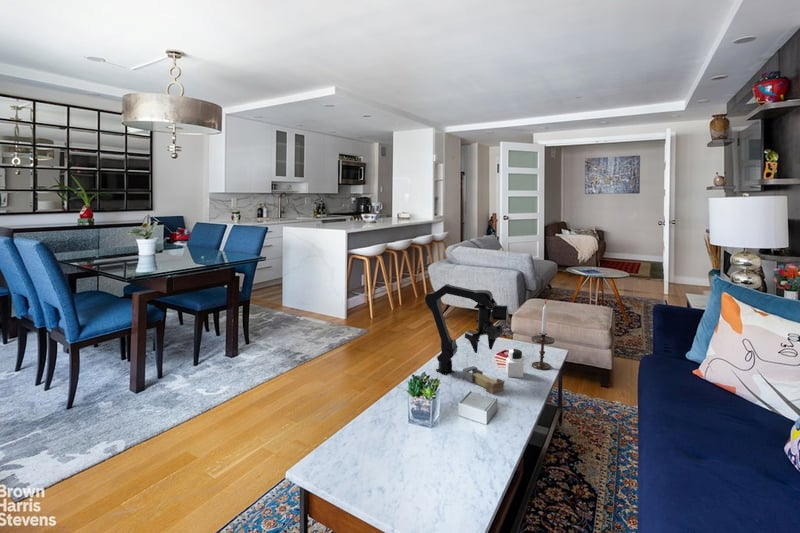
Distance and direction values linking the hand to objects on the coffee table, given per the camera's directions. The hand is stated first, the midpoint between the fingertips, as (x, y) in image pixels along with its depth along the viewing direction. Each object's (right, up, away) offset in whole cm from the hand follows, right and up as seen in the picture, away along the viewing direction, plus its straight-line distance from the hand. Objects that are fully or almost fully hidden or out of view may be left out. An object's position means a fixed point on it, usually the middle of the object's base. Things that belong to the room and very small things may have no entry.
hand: (483, 351), depth 201 cm
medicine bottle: (+16, -13, +6) cm, 21 cm away
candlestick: (+32, -11, +17) cm, 38 cm away
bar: (-1, -14, -6) cm, 16 cm away
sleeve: (-5, -13, 0) cm, 14 cm away
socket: (+3, -15, -12) cm, 19 cm away
